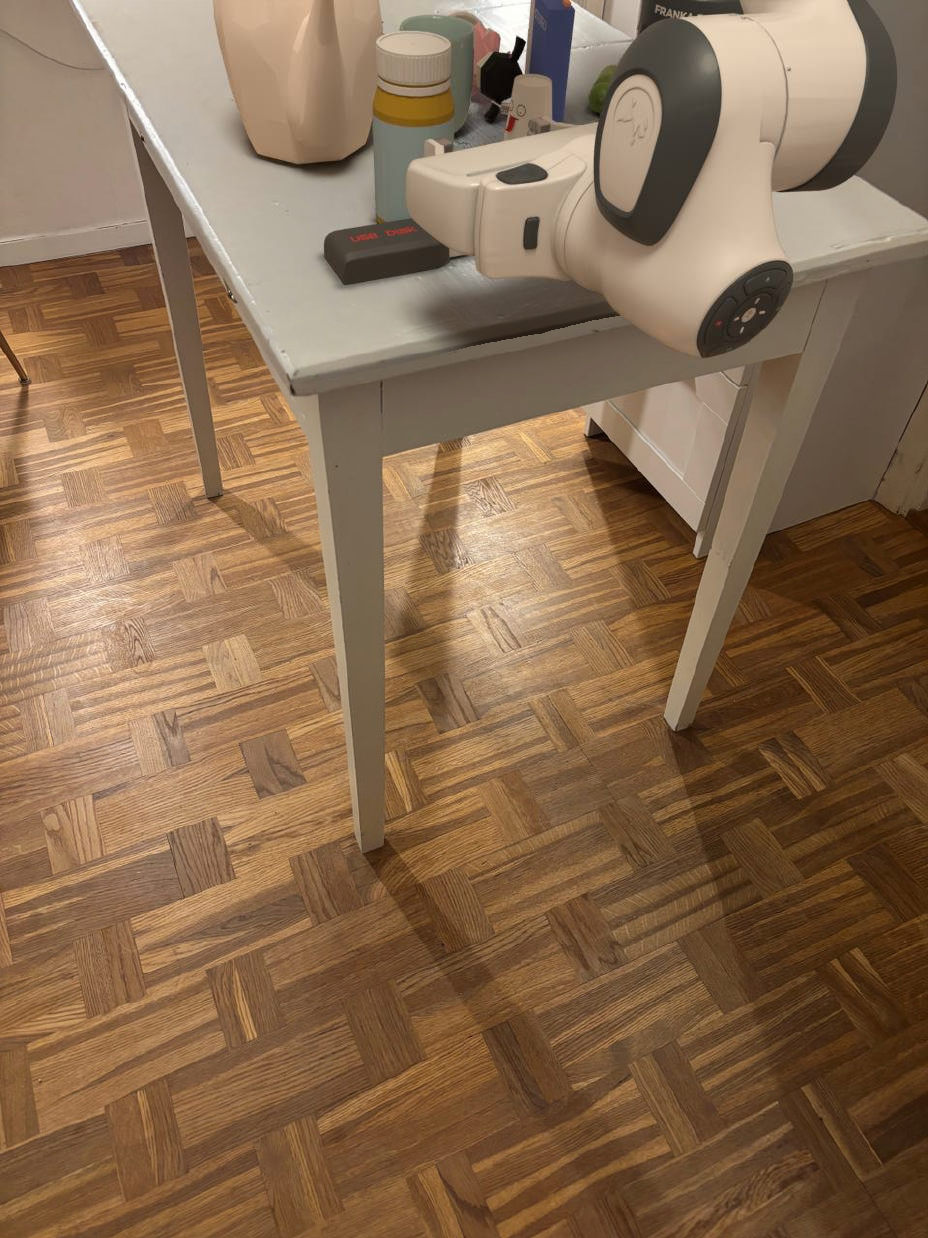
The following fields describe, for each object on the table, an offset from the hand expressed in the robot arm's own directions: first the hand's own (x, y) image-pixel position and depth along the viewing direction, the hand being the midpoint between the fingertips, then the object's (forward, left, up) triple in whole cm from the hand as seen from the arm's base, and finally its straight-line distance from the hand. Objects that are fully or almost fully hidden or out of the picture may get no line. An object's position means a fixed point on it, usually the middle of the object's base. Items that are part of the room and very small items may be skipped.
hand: (484, 137), depth 73 cm
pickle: (-3, -45, -11) cm, 46 cm away
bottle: (+8, -7, -12) cm, 16 cm away
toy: (+16, -46, -8) cm, 50 cm away
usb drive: (+7, 0, -12) cm, 14 cm away
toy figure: (+2, -23, -12) cm, 25 cm away
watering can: (+24, -19, -12) cm, 33 cm away
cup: (+13, -30, -12) cm, 35 cm away
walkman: (+3, -37, -11) cm, 39 cm away
